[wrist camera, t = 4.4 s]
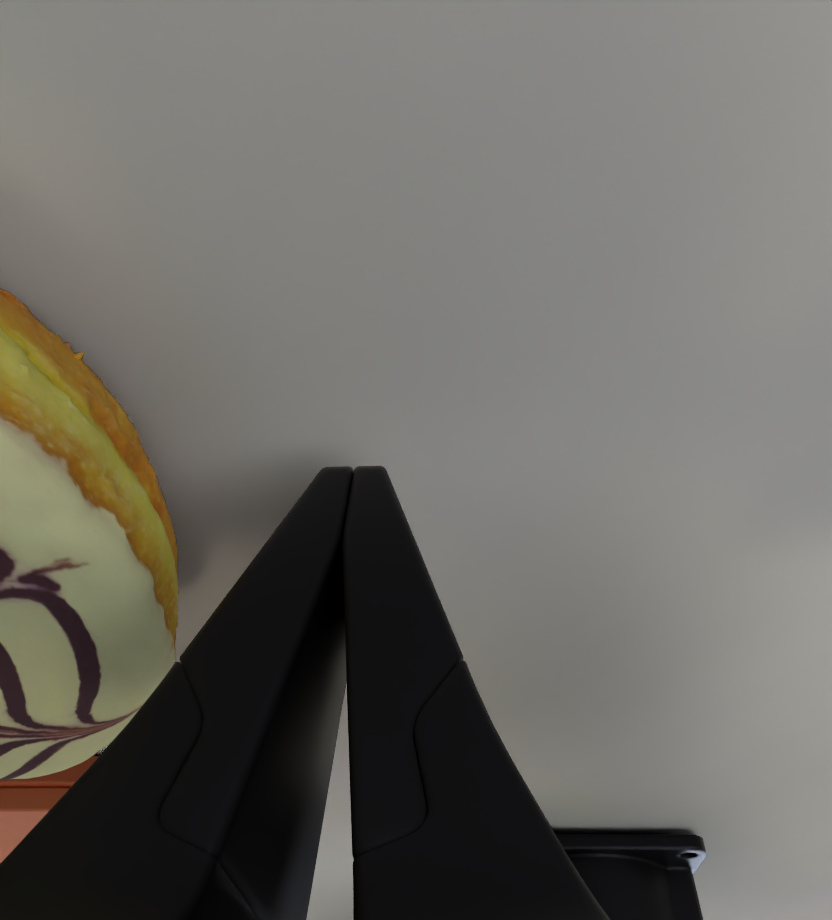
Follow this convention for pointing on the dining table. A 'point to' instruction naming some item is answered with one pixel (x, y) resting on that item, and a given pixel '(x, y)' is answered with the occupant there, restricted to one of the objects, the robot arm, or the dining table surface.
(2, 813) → the orange flat bar
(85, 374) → the decorated donut
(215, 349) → the dining table surface
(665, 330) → the dining table surface
